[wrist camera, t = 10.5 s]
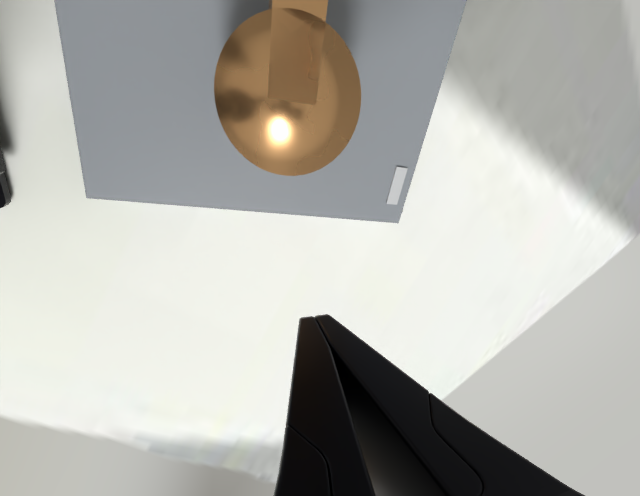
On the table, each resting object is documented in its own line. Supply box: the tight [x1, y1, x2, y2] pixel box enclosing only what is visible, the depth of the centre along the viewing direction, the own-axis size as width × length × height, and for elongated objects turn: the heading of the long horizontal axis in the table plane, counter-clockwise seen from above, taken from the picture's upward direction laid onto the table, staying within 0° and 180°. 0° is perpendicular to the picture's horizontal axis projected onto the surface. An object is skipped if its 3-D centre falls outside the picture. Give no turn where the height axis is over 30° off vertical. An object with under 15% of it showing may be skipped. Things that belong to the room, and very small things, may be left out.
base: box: [54, 0, 467, 223], centre depth 13 cm, size 18×18×4 cm
